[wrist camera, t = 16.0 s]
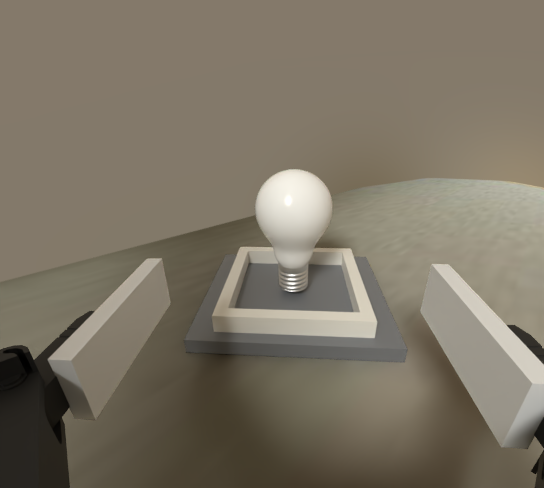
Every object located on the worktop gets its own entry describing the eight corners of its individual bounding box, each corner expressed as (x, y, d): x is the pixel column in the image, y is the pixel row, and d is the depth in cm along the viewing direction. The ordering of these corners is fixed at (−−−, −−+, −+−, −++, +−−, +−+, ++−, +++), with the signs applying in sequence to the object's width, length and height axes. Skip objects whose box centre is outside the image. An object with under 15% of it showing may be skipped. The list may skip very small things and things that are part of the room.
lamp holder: (186, 352, 22) (180, 323, 21) (226, 263, 35) (224, 242, 34) (404, 362, 21) (411, 332, 20) (364, 266, 34) (367, 244, 33)
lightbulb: (324, 273, 30) (330, 163, 26) (331, 311, 24) (340, 177, 20) (262, 272, 31) (258, 163, 26) (254, 309, 25) (247, 178, 20)
